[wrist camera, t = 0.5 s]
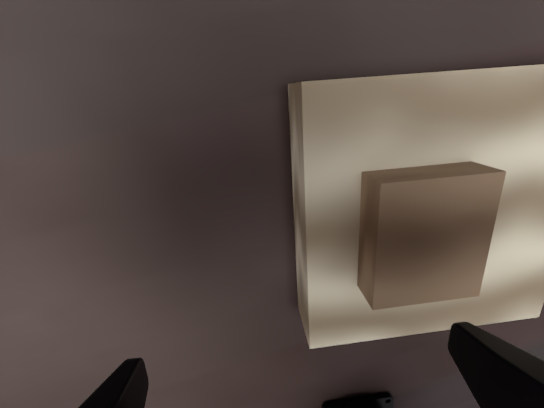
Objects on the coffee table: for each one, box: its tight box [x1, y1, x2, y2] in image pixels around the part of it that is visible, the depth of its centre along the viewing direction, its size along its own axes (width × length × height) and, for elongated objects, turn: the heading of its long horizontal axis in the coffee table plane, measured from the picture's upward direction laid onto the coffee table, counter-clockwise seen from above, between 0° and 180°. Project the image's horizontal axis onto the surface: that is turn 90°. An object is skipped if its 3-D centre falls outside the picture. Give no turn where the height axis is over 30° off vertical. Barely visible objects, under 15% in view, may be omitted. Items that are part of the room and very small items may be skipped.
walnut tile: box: [357, 161, 506, 310], centre depth 16 cm, size 7×6×2 cm
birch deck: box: [288, 64, 544, 349], centre depth 19 cm, size 16×16×4 cm
